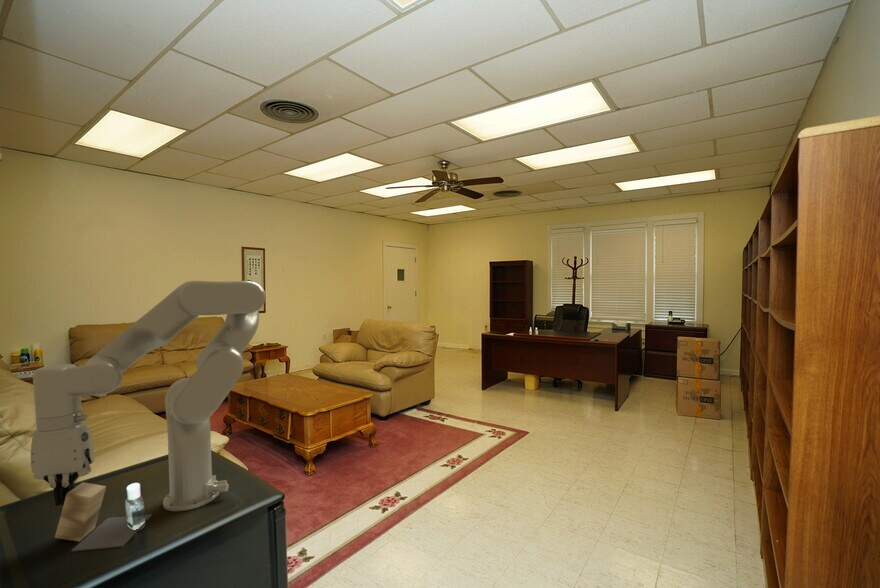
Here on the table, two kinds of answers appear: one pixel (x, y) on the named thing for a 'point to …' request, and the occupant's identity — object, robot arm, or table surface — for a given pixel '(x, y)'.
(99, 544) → the mat
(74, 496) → the maple block
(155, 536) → the table surface
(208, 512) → the table surface
